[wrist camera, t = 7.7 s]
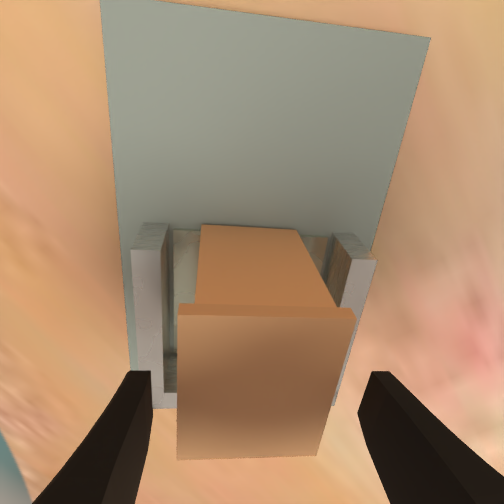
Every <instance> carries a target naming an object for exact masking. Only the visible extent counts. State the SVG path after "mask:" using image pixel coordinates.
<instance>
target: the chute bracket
mask: <svg viewBox="0 0 504 504" xmlns="http://www.w3.org/2000/svg"><path fill="white" fill-rule="evenodd" d="M200 235H201V229H182V228H174V229H173V271H174V352H170V281H169V223H153V222H144V223H143V225H142V227H141V229H140V231H139V233H138V235H137V237H136V239H135V241H134V243H133V245H132V247H131V250H130V251H131V266H132V280H133V295H134V309H135V324H136V338H137V353H138V367H139V370H151V384H152V405H153V409H164V408H177V314H178V308H179V303H193V304H194V303H195V292H196V280H197V269H198V258H199V247H200ZM299 236H300V238H301V239H302V241H303V243H304V245H305V247H306V249H307V251H308V253H309V255H310V257H311V258H312V260H313V262H314V264H315V266H316V268H317V270H318V272H319V274H320V273H321V268H322V264H323V259H324V255H325V250H326V245H327V241H328V237H327V236H318V235H299ZM377 261H378V260H377V259H376V258H375V257H374V256H373V254H372V253H371V252H370V251H369V250H368V249H367V248H366V246H365V245H364V244H363V243H362V242H361V241H360V240H359V238H358V237H357V236H356V235H355V234H354V233H341V232H332V235H331V239H330V244H329V248H328V253H327V257H326V262H325V266H324V271H323V275H322V279H323V281H324V283H325V285H326V287H327V289H328V291H329V293H330V295H331V297H332V298H333V300H334V302H335V304H336V306H337V307H341V308H351V309H352V311H353V313H354V314H355V316H356V318H357V321H356V324H355V327H354V331H353V334H352V337H351V341H350V344H349V348H348V351H347V354H346V358H345V361H344V364H343V368H342V371H341V374H340V378H339V381H338V384H337V388H336V391H335V394H334V398H333V401H332V404H331V406H334V405H335V401H336V398H337V395H338V391H339V388H340V384H341V381H342V378H343V374H344V371H345V368H346V364H347V361H348V358H349V354H350V351H351V348H352V344H353V341H354V338H355V334H356V331H357V328H358V324H359V321H360V317H361V314H362V311H363V307H364V304H365V301H366V297H367V294H368V291H369V287H370V284H371V281H372V277H373V274H374V271H375V267H376V264H377Z"/></svg>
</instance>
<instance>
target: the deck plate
mask: <svg viewBox="0 0 504 504" xmlns="http://www.w3.org/2000/svg"><path fill="white" fill-rule="evenodd" d="M100 8H101V20H102V32H103V44H104V56H105V68H106V80H107V92H108V104H109V116H110V128H111V140H112V152H113V164H114V176H115V188H116V200H117V212H118V224H119V236H120V248H121V260H122V272H123V284H124V296H125V308H126V320H127V332H128V344H129V356H130V368H131V370H139V367H138V353H137V338H136V324H135V309H134V295H133V280H132V266H131V251H130V250H131V247H132V245H133V243H134V241H135V239H136V237H137V235H138V233H139V231H140V229H141V227H142V225H143V223H144V222H153V223H169V281H170V352H174V271H173V229H174V228H182V229H201V224H204V225H221V226H239V227H256V228H274V229H291V230H297V232H298V234H299V235H318V236H327V237H328V241H327V245H326V250H325V255H324V259H323V264H322V268H321V273H320V276H321V278H322V275H323V271H324V266H325V262H326V257H327V253H328V248H329V244H330V239H331V235H332V232H341V233H354V234H355V235H356V236H357V237H358V238H359V240H360V241H361V242H362V243H363V244H364V245H365V246H366V248H367V249H368V250H369V251H371V247H372V244H373V240H374V237H375V233H376V230H377V226H378V223H379V219H380V216H381V212H382V209H383V205H384V202H385V198H386V195H387V191H388V188H389V184H390V181H391V177H392V173H393V170H394V166H395V163H396V159H397V156H398V152H399V149H400V145H401V142H402V138H403V135H404V131H405V128H406V124H407V121H408V117H409V114H410V110H411V107H412V103H413V100H414V96H415V92H416V89H417V85H418V82H419V78H420V75H421V71H422V68H423V64H424V61H425V57H426V54H427V50H428V47H429V43H430V40H431V38H430V37H422V36H415V35H407V34H400V33H393V32H385V31H378V30H370V29H363V28H356V27H348V26H341V25H333V24H326V23H318V22H311V21H304V20H296V19H289V18H281V17H274V16H267V15H259V14H252V13H244V12H237V11H229V10H222V9H215V8H207V7H200V6H192V5H185V4H178V3H170V2H163V1H155V0H100Z"/></svg>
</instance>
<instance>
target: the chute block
mask: <svg viewBox="0 0 504 504" xmlns="http://www.w3.org/2000/svg"><path fill="white" fill-rule="evenodd" d="M356 321H357V318H356V316H355V314H354V313H353V311H352V309H351V308H341V307H337V306H336V304H335V302H334V300H333V298H332V297H331V295H330V293H329V291H328V289H327V287H326V285H325V283H324V281H323V279H322V278H321V276H320V274H319V272H318V270H317V268H316V266H315V264H314V262H313V260H312V258H311V257H310V255H309V253H308V251H307V249H306V247H305V245H304V243H303V241H302V239H301V238H300V236H299V234H298V232H297V230H291V229H274V228H256V227H239V226H221V225H204V224H201V235H200V247H199V258H198V269H197V280H196V292H195V303H194V304H193V303H179V308H178V314H177V460H202V459H233V458H264V457H295V456H316V455H317V451H318V448H319V445H320V441H321V438H322V435H323V431H324V428H325V425H326V421H327V418H328V414H329V411H330V408H331V404H332V401H333V398H334V394H335V391H336V388H337V384H338V381H339V378H340V374H341V371H342V368H343V364H344V361H345V358H346V354H347V351H348V348H349V344H350V341H351V337H352V334H353V331H354V327H355V324H356Z"/></svg>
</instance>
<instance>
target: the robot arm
mask: <svg viewBox="0 0 504 504" xmlns="http://www.w3.org/2000/svg"><path fill="white" fill-rule="evenodd" d="M357 413H358V417H359V421H360V425H361V428H362V432H363V435H364V439H365V442H366V445H367V448H368V450H369V453H370V455H371V458H372V460H373V463H374V465H375V468H376V470H377V473H378V475H379V477H380V480H381V482H382V485H383V487H384V490H385V492H386V494H387V497H388V499H389V502H390V504H504V476H502V475H501V474H500V473H499V472H497V471H496V470H495V469H494V468H493V467H491V466H490V465H489V464H488V463H486V462H485V461H484V460H483V459H482V458H481V457H480V456H478V455H477V454H476V453H475V452H474V451H473V450H472V449H470V448H469V447H468V446H467V445H466V444H465V443H464V442H462V441H461V440H460V439H459V438H458V437H457V436H456V435H455V434H454V433H453V432H451V431H450V430H449V429H448V428H447V427H446V426H445V425H444V424H443V423H442V422H441V421H440V420H439V419H438V418H437V417H436V416H434V415H433V414H432V413H431V412H430V411H429V410H428V409H427V408H426V407H425V406H424V405H423V404H422V403H421V402H420V401H419V400H418V399H417V398H416V397H415V396H414V395H413V394H412V393H411V392H410V391H409V390H408V389H407V388H406V387H405V386H404V385H403V384H402V383H401V382H400V381H399V380H398V379H397V378H396V377H395V376H394V375H392V374H391V373H390V372H389V371H372V372H371V375H370V378H369V381H368V384H367V387H366V390H365V392H364V395H363V398H362V401H361V404H360V407H359V410H358V412H357ZM152 419H153V405H152V384H151V370H130V371H129V372H128V373H127V374H126V376H125V378H124V379H123V381H122V383H121V385H120V386H119V388H118V390H117V391H116V393H115V395H114V396H113V398H112V399H111V401H110V402H109V404H108V406H107V407H106V409H105V410H104V412H103V413H102V415H101V416H100V417H99V419H98V420H97V422H96V423H95V425H94V426H93V427H92V429H91V430H90V432H89V433H88V435H87V436H86V437H85V439H84V440H83V441H82V443H81V444H80V445H79V447H78V448H77V449H76V450H75V452H74V453H73V454H72V456H71V457H70V458H69V460H68V461H67V462H66V463H65V465H64V466H63V467H62V469H61V470H60V471H59V472H58V474H57V475H56V476H55V477H54V478H53V480H52V481H51V482H50V483H49V484H48V486H47V487H46V488H45V489H44V490H43V492H42V493H41V494H40V495H39V496H38V497H37V498H36V500H35V501H34V502H33V503H32V504H135V500H136V496H137V492H138V488H139V484H140V480H141V476H142V472H143V468H144V464H145V460H146V456H147V451H148V446H149V439H150V433H151V426H152Z"/></svg>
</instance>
